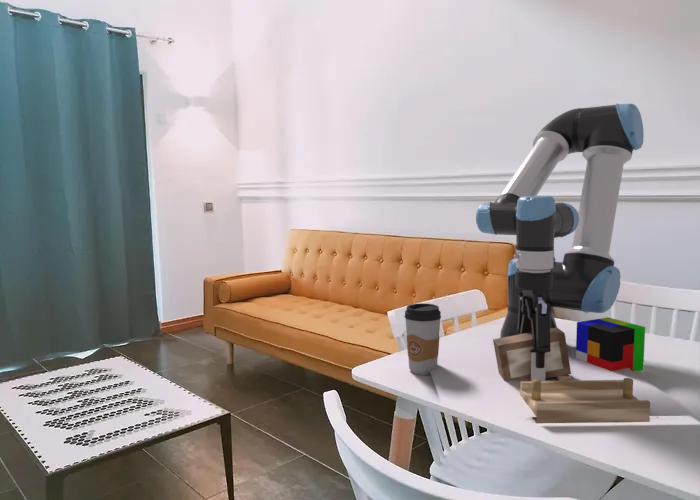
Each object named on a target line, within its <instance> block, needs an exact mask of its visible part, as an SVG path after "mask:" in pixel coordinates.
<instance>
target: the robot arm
mask: <svg viewBox="0 0 700 500" xmlns="http://www.w3.org/2000/svg"><path fill="white" fill-rule="evenodd" d="M642 119H643V118H642V115H641V112H640V110H639V108H638V107H637V105H635V104H634V103H615V104H610V105H601V106H590V107H583V108H581V107H580V108H578V107H577V108H574V109H570V110H567V111H565V112H563V113H561V114H559V115H558V116H556V117H554V118H553V119H552V120H551V121H549V122H548V123H547V124H546V125H544V126H543V127H542V129H540V131H539V132H538V133H537V134H536V136H535V137H534V139H533V142H532V148H531V150H530V151H529V152H528V154H527V155H526V156H525V159H524V160H523V161H522V163H520V166H519V167H518V168H517V170H516V172H515V173H513V176H512V177H511V178H510V180H509V181H508V183H507V184H506V185H505V187H504V188H503V190H502V191H501V193H500V194H499V196H497V199H496V200H495V201H494V202H492V201H489V202H484V203H481V204H480V205H479V206H478V207H477V210H476V214H475V223H476V226H477V228H478V230H479V231H480V232H481V233H484V234H490V235H496V236H497V235H500V236H502V235H503V236H516V238H515V239H516V240H515V241H516V243H515V244H516V245H515V253H516V254H513V258H512V259H511V260H509V262H508V268H507V312H506V315H505V319H504V321H503V324H502V326H501V330H500V334H499V335H500V337H499V338H503V337H509V336H514V335H519V334H524V333H530V332H532V339H533V349H531V350H530V352H531V353H532V355H531V380H530V381H532V380H533V379H538V380H541V381H546V379H545V370H546V352H550V350H551V348H550V329H551V328H556V327H557V328H558V325H557V323H556V319H555V317H554V308H559V309H564V310H565V309H566V310H572V311H579V312H584V313H585V314H588V313H589V314H590V313H595V314H604V313H606V312H608V311H609V310H610V309H611V308H612V306H614V303H615V302H616V300H617V298H618V294H619V290H620V287H621V277H622V276H621V271H620V269H619V268H618V267H617V266H615V259H613V258H612V256H611V255H610V249H611V243H612V236H613V231H614V226H615V225H614V224H615V219H616V213H617V207H618V202H619V201H618V200H619V195H620V189H621V183H622V177H623V173H624V171H623V170H624V165H625V164H626V163H627V162H629V161H631V159H632V157H633V153H634V151H637V150H641V149H642V147H643V145H644V133H645V132H644V124H643V120H642ZM575 153H582V155H581V156H582V157H583V158H584V159H585V160H586V167H585V172H584V178H583V184H582V190H581V194H580V201H579V207H578V210H577V208H576V207H574V206H573V205H571V204H570V203H567V202H556V200H555V198H554V197H553V196H552V195H538V194H539V193H540V191H541V189H543V186H545V183H546V182H547V180H548V179H549V177H550V176H551V174H552V173H553V171H554V169H555V168H556V166H557V164H558V163H559V162H562V161H564V160H565V159H566V158H567V157H568V155H571V154H575ZM572 233H574V234H573V235H574V236H573V240H572V241H573V242H572V246H571V249H570V250H568V251H566V252H564V254H563V259H562V261H556V258H555V238H563V237H566V236H567V235H568V236H569V235H571V234H572Z"/></svg>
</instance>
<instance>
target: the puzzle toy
mask: <svg viewBox="0 0 700 500" xmlns="http://www.w3.org/2000/svg"><path fill="white" fill-rule="evenodd" d="M575 336H576V342H575V359H577V360H579V361H582V362H584V363H588V364H590V365H594V366H595V367H599V368H601V369H604V370H607V371H609V372H614V371H619V370H624V369H628V370H630V371H631V372H632V373H635V372H639V371H643V370H644V362H645V361H644V360H645V359H644V358H645V343H646V341H645V339H646V327H645V326H642V325H638V324H635V323H631V322H628V321H624V320H619V319H616V318H612V317H601V318H597V319H596V318H594V319H590V320H589V319H587V320H584V321H577V322H576V335H575Z"/></svg>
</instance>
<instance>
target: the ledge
mask: <svg viewBox="0 0 700 500" xmlns="http://www.w3.org/2000/svg"><path fill="white" fill-rule="evenodd" d="M519 385H520V386H519V396H520V398H522V400H523V401H524V403H525V404H526V405H527V406H528V408H529V409H530V410H531V412H532V413H533V414H534V416H532V417H531V418H532V419H533V421H534V422H535V424H577V423H578V424H579V423H580V424H582V423H583V424H584V423H585V424H586V423H589V424H590V423H591V424H592V423H593V424H594V423H650V417H651V401H650V400H648V399H642V400H640V399H638V398H637V397H636V396H635V395H633V392H634V379H633V378H630V377H624V378H623V379H601V380H600V379H593V380H592V379H590V380H589V379H588V380H587V379H586V380H580V379H579V380H571V381H559V380H545V381H541V380H538V379H533V380H532V381H531V380H519Z"/></svg>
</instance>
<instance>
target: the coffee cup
mask: <svg viewBox="0 0 700 500" xmlns="http://www.w3.org/2000/svg"><path fill="white" fill-rule="evenodd" d="M404 318H405V327H406V329H405V330H406V331H405V332H406V347H407V358H408V369H409V370H410V372H411V373H412V374H415V375H420V376H427V375H432V373H431V370H434V369H436V368H438V362H439V359H438V358H439V349H440V327H441V318H442V315H441V310H440V307H439V306H438V305H436V304H432V303H425V302H422V303H411V304H409V305H407V306H406V310H404Z"/></svg>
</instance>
